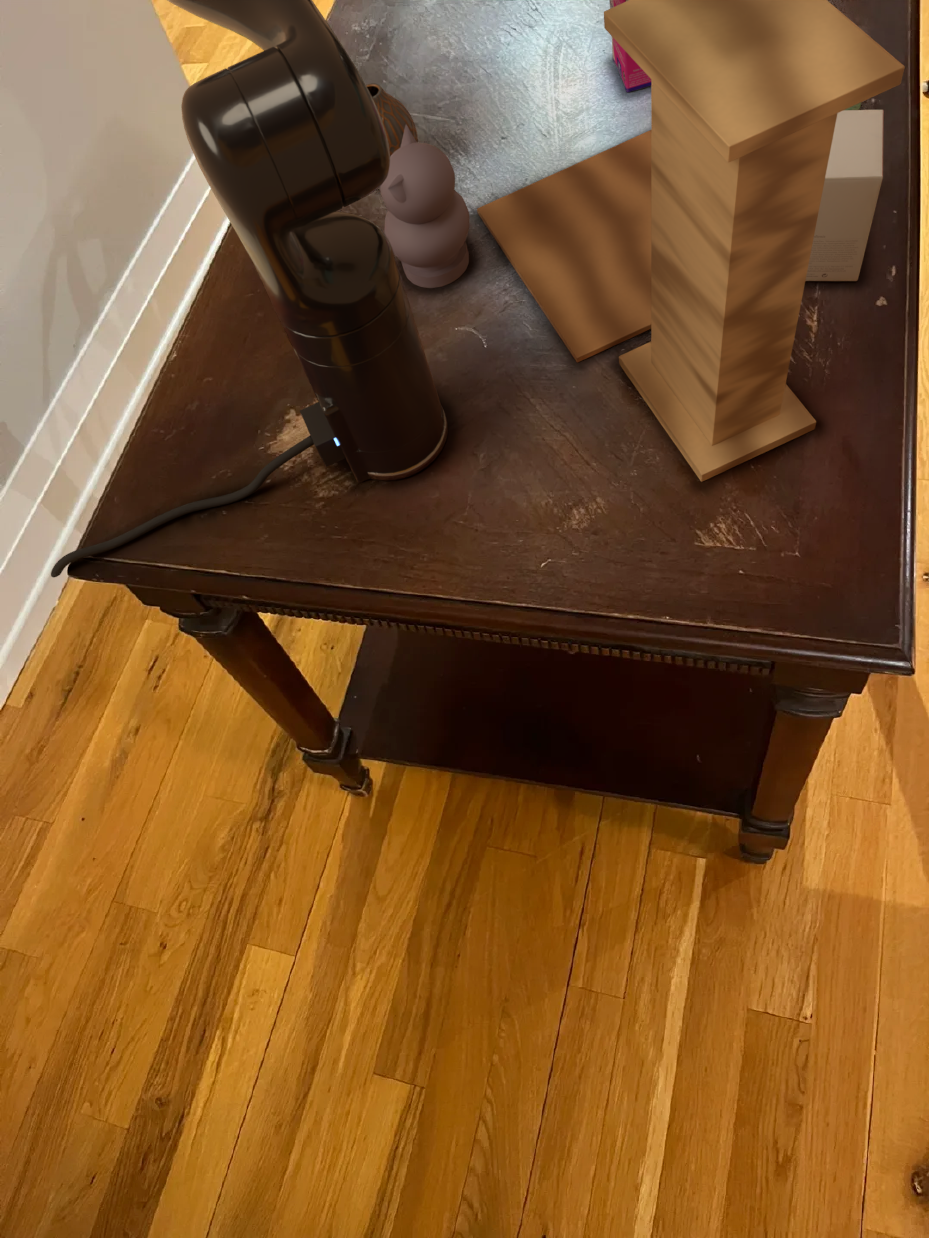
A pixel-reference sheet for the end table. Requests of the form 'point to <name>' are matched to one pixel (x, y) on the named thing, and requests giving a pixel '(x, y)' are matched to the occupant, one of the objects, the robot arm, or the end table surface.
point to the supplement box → (628, 64)
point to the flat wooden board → (585, 245)
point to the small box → (848, 196)
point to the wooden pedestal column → (736, 205)
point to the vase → (392, 116)
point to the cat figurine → (425, 214)
